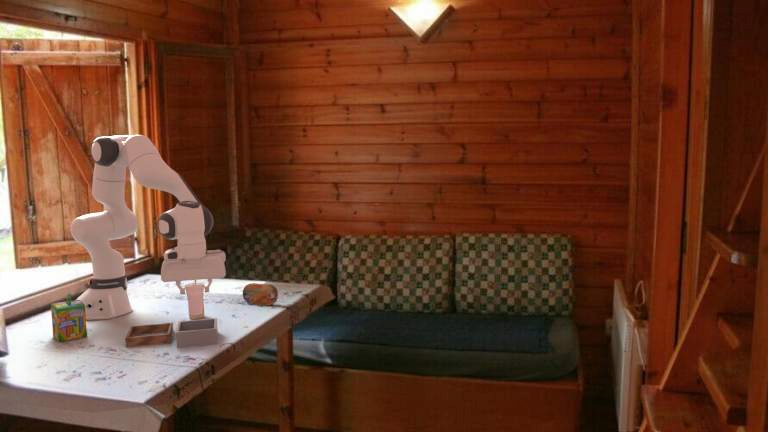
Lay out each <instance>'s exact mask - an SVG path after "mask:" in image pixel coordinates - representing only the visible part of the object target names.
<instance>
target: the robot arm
mask: <svg viewBox="0 0 768 432" xmlns="http://www.w3.org/2000/svg"><path fill="white" fill-rule="evenodd" d="M90 155H91V158H92V160H93V162H94V169H93V175H92V186H91V187H92V190H91V195H92V197H93V199H94V200H95V201H96V202H98V203H99V204H101V205H103V211H100V212H94V213H93V212H92V213H86V214H83V215H81V216H78V217H76V218H73V220H72V222H71V224H70V228H69V229H70V234H71V237H72V238H73V239H74V241H76V242H77V243H78V244H80V245H81V246H83V247H84V248H85V250H86V251H87V252H88V254H89V256H90V260H91V265H92V273H93V276H91V277H89V278H88V282H87V285H88V287H89V288H88V289H86V290H85V291H84V292H83V293H82V294H81V295H79V296H78V297H77V298H76V299H75V300H80V301H81V302H82V303H83V304H85V314H86V321H89V320H91V321H92V320H109V319H114V318H115V317H119V316H123V315H126V314H129V313H131V312H132V311H133V308H132V306H131V303H130V299H129V295H128V278H127V275H126V271H125V261H124V260H125V259H124V256H123V254H122V253H121V252H120V251H118V250H116V249H113V248H112V246H111V244H110V241H114V240H118V239H119V240H120V239H124V238H126V237H130V236H131V235H134V234H135V233H136V232H137V230H138V228H139V219H138V217H137V216H136V214H135V213H134V212H133V211H132V210H130V208H129V207H128V205H127V203H126V197H125V192H126V177H127V176H126V175H127V167H128V168H129V170H130V172H131V174H132V176H133V178H134V179H135V181H136V182H137V184H139V185H140V186H142V187H145V188H147V189H150V190H159V191H161V192H162V191H163V192H166V193H170V194H171V195H173V196H174V197H175V198H176V199H177V200H178V201H179V202H177V203H176V205H175V207H174V208H172V209H169V210H167V211H165V212H162V213H161V214H160V216H159V218H158V220H157V229H158V232H159V234H160V235H161V236H162V238H164V239H166V240H170V241H174V240H177V243H176V244H177V246H175V247H173V248H170V249H167V250H166V251H165V252H164V253H163V259H164V260H163V262H162V263H161V268H160V280H161V282H163V283H172V282H175V286H176V287H177V288H178V290H179V295H186V289H185V287H183V286H181V284H182V282H184V281H195V280H196V281H197V280H198V281H199V280H207V285H206V286H205V287H204V293H210V287H211V284H213V279H222V278H224V277H226V274H227V272H226V266H225V265H226V264H225V262H226V259H227V258H226V252H225V251H223V250H221V249H215V250H213V249H211V250H210V249H209V250H207V241H206V237H207V236H208V234H209V233H210V232H212V231H211V230H212V228H213V227H214V222H215V221H214V217H213V214H212V213H211V211H210V209H208V208H207V206H205V205H204V204H203V203H202V201H200V199H199V197H197V195H196V194H195V192H194V191H193V190H192V188H191V187H190V185H189V184H188V182H187V181H186V180H185V178H183V176H182V175H181V174H180V173H179V172H177V171H175V170H174V169H172V168H171V167H170V166H168V164H167V163H166V162H165V161H164V160H163V158H162V156H161V154H160V152H159V150H158V149H157V147H156V146H155V144H154V142H153V139H152V138H149V137H148V136H146V135H143V134H134V135H129V134H125V135H124V134H123V135H112V136H107V135H105V136H99V137H96V138H95V139H94V140H93V142H92V144H91V147H90Z"/></svg>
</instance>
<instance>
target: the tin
mask: <svg viewBox="0 0 768 432" xmlns="http://www.w3.org/2000/svg"><path fill="white" fill-rule="evenodd" d="M242 289H243V290H242V297H243V299H244V302H245V303H247V304H248V305H252V306H253V305H255V306H265V307H266V306H267V307H268V306H271V305H273V304H275V303H276V302H277V300H278V298H279V293H278V289H277V288H276V286H274V285H273V284H271V283H258V282H257V283H248V284H246V285H245V286H244V288H242Z"/></svg>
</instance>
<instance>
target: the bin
mask: <svg viewBox="0 0 768 432" xmlns="http://www.w3.org/2000/svg"><path fill="white" fill-rule="evenodd" d="M218 334H219V329H218V318H217V317H215V318H204V319H203V318H200V319H189V320H182V321H179V320H178V321H177V325H176V330H175V342H176V344H175V346H176V348H177V349H178V348H189V347H197V346H207V345H208V346H209V345H218V341H219V340H218V336H219V335H218Z"/></svg>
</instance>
